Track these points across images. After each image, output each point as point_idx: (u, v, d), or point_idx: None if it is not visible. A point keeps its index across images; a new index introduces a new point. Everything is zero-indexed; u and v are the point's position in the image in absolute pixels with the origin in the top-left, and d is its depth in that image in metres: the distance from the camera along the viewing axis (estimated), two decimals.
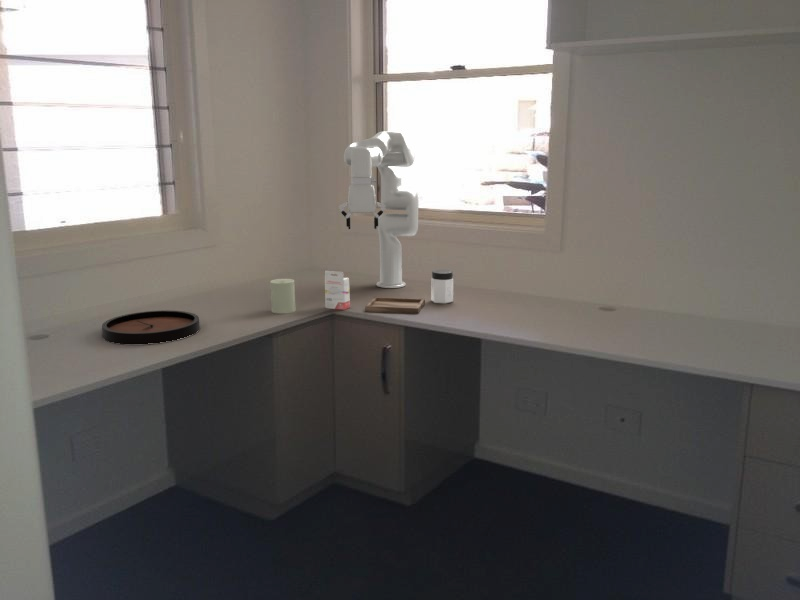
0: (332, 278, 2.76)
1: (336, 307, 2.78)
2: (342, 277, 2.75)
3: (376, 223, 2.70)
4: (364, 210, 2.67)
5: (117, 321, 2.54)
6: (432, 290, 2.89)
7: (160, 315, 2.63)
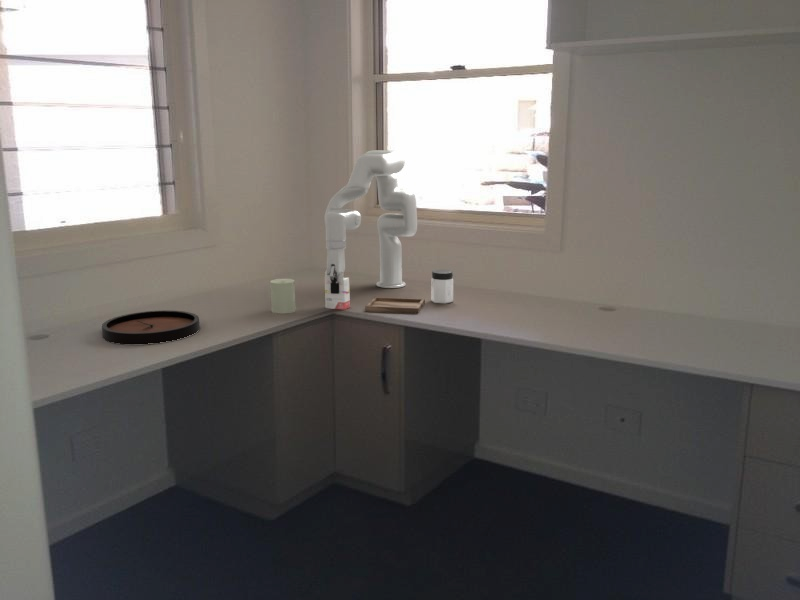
0: None
1: (336, 307, 2.78)
2: (342, 277, 2.75)
3: None
4: (342, 271, 2.78)
5: (117, 321, 2.54)
6: (432, 290, 2.89)
7: (160, 315, 2.63)
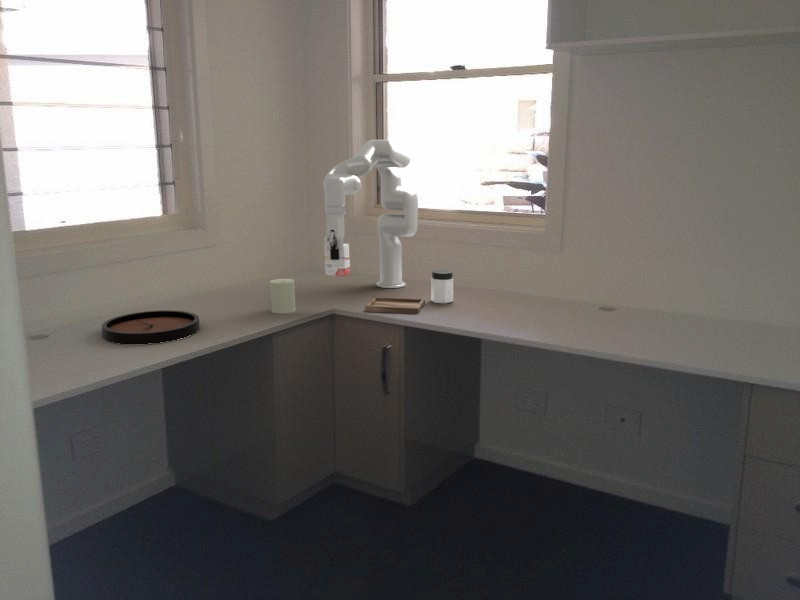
0: None
1: (336, 273, 2.76)
2: (342, 243, 2.72)
3: None
4: (342, 237, 2.75)
5: (117, 321, 2.54)
6: (432, 290, 2.89)
7: (160, 315, 2.63)
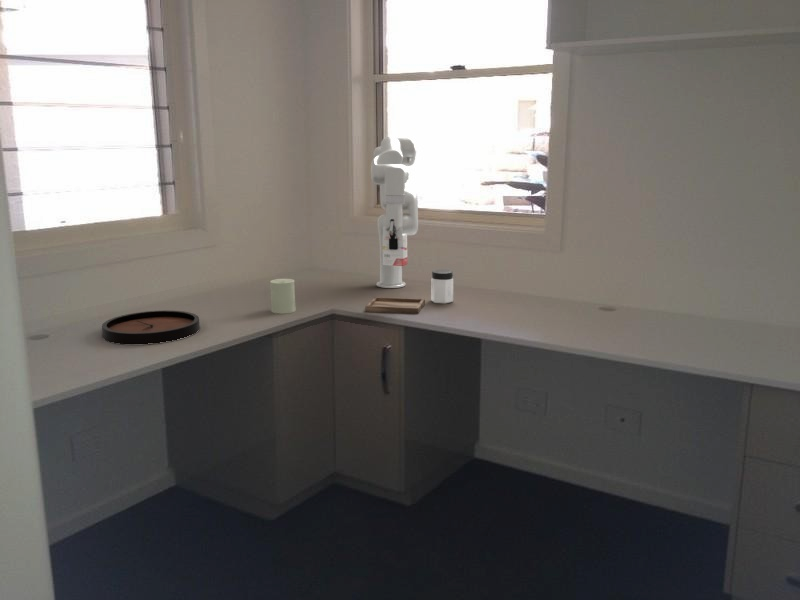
0: None
1: (394, 263, 2.74)
2: (401, 232, 2.71)
3: None
4: None
5: (117, 321, 2.54)
6: (432, 290, 2.89)
7: (160, 315, 2.63)
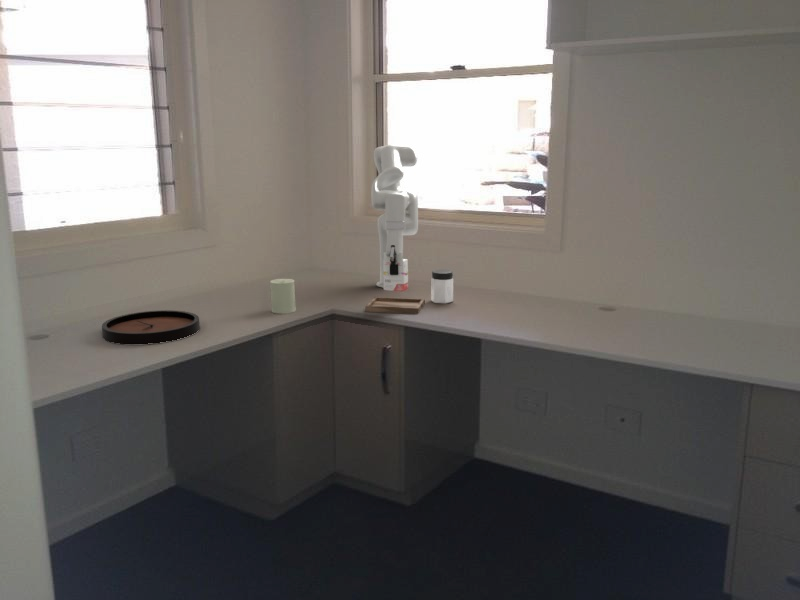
0: None
1: (395, 289, 2.76)
2: (401, 258, 2.73)
3: None
4: (401, 252, 2.76)
5: (117, 321, 2.54)
6: (432, 290, 2.89)
7: (160, 315, 2.63)
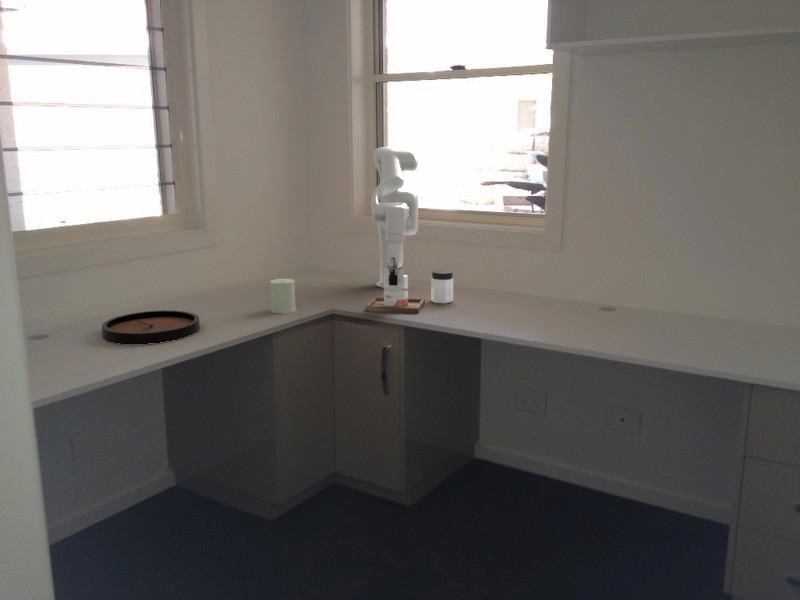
0: None
1: (395, 304, 2.78)
2: (402, 274, 2.75)
3: None
4: (401, 264, 2.77)
5: (117, 321, 2.54)
6: (432, 290, 2.89)
7: (160, 315, 2.63)
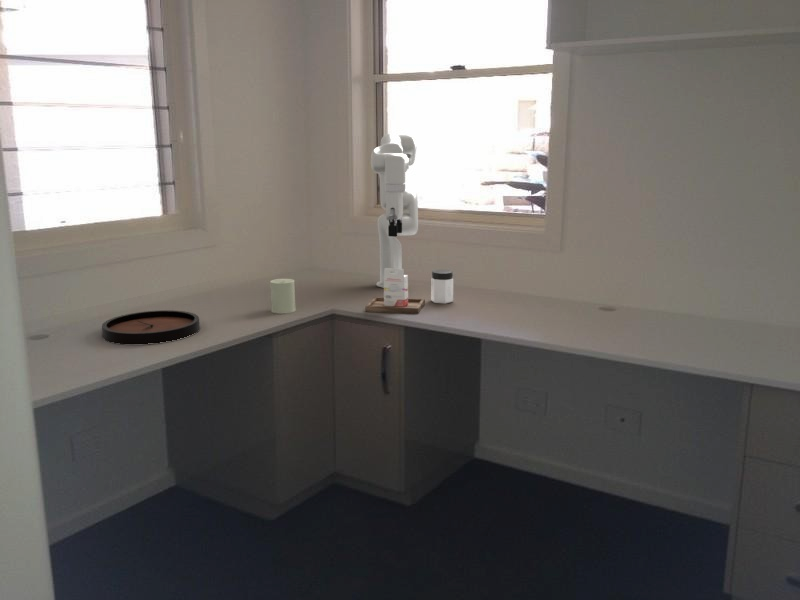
0: (392, 275, 2.76)
1: (395, 304, 2.78)
2: (402, 274, 2.75)
3: None
4: (401, 215, 2.73)
5: (117, 321, 2.54)
6: (432, 290, 2.89)
7: (160, 315, 2.63)
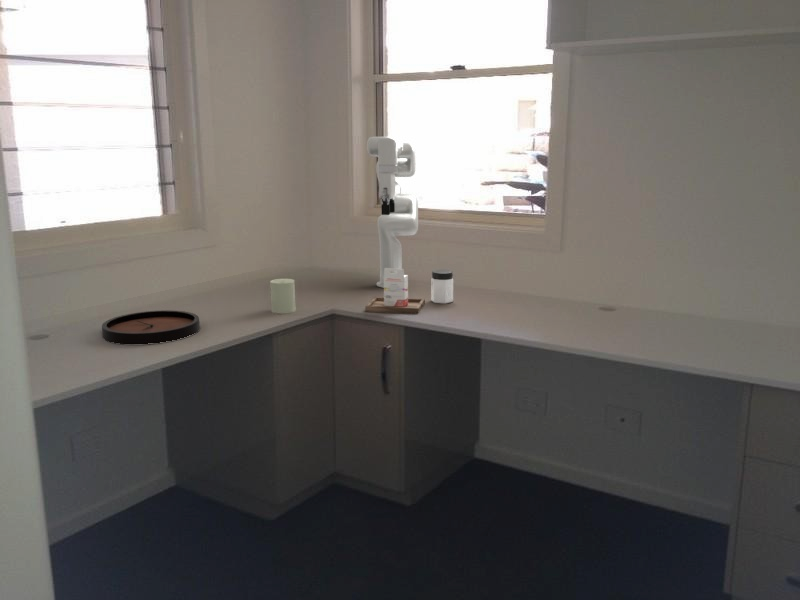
0: (392, 275, 2.76)
1: (395, 304, 2.78)
2: (402, 274, 2.75)
3: None
4: (393, 195, 2.88)
5: (117, 321, 2.54)
6: (432, 290, 2.89)
7: (160, 315, 2.63)
